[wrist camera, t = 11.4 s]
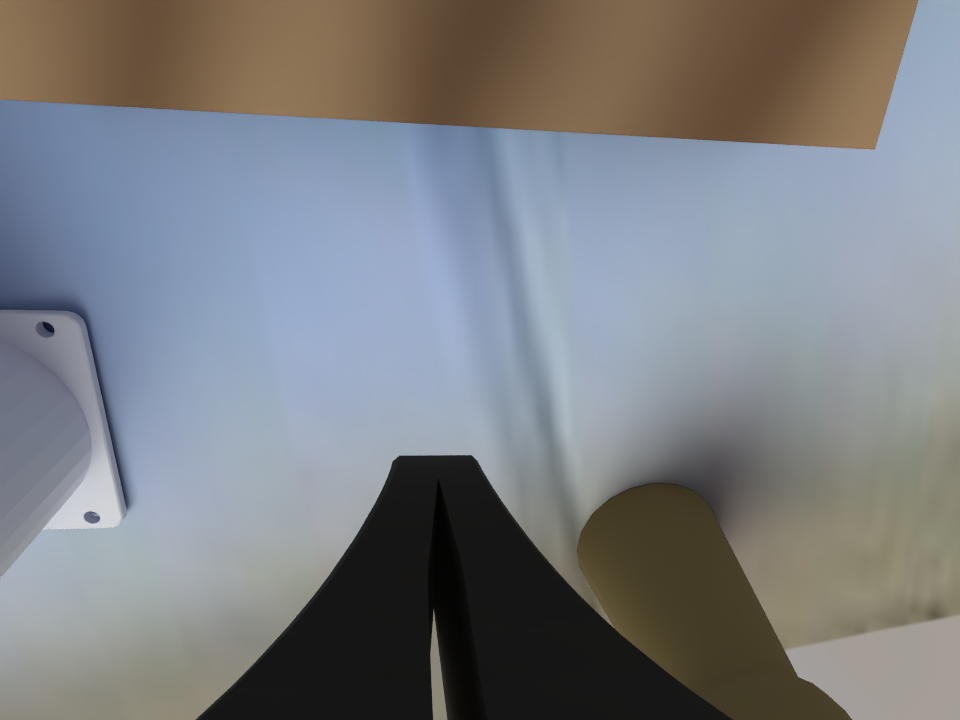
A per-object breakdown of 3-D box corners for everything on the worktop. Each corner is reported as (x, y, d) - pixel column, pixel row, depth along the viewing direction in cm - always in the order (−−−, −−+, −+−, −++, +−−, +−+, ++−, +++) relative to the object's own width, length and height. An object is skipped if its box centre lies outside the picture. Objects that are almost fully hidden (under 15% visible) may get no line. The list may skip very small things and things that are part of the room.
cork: (548, 566, 25) (645, 883, 15) (638, 459, 23) (818, 733, 13) (654, 615, 26) (804, 926, 16) (744, 519, 25) (973, 800, 15)
